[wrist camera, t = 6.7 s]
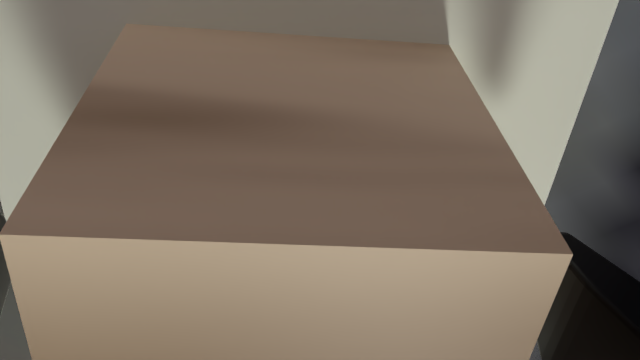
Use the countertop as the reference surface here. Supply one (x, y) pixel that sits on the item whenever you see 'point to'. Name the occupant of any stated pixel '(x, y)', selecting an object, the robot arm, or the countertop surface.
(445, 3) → the riser
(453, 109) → the birch cube
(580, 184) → the countertop surface
